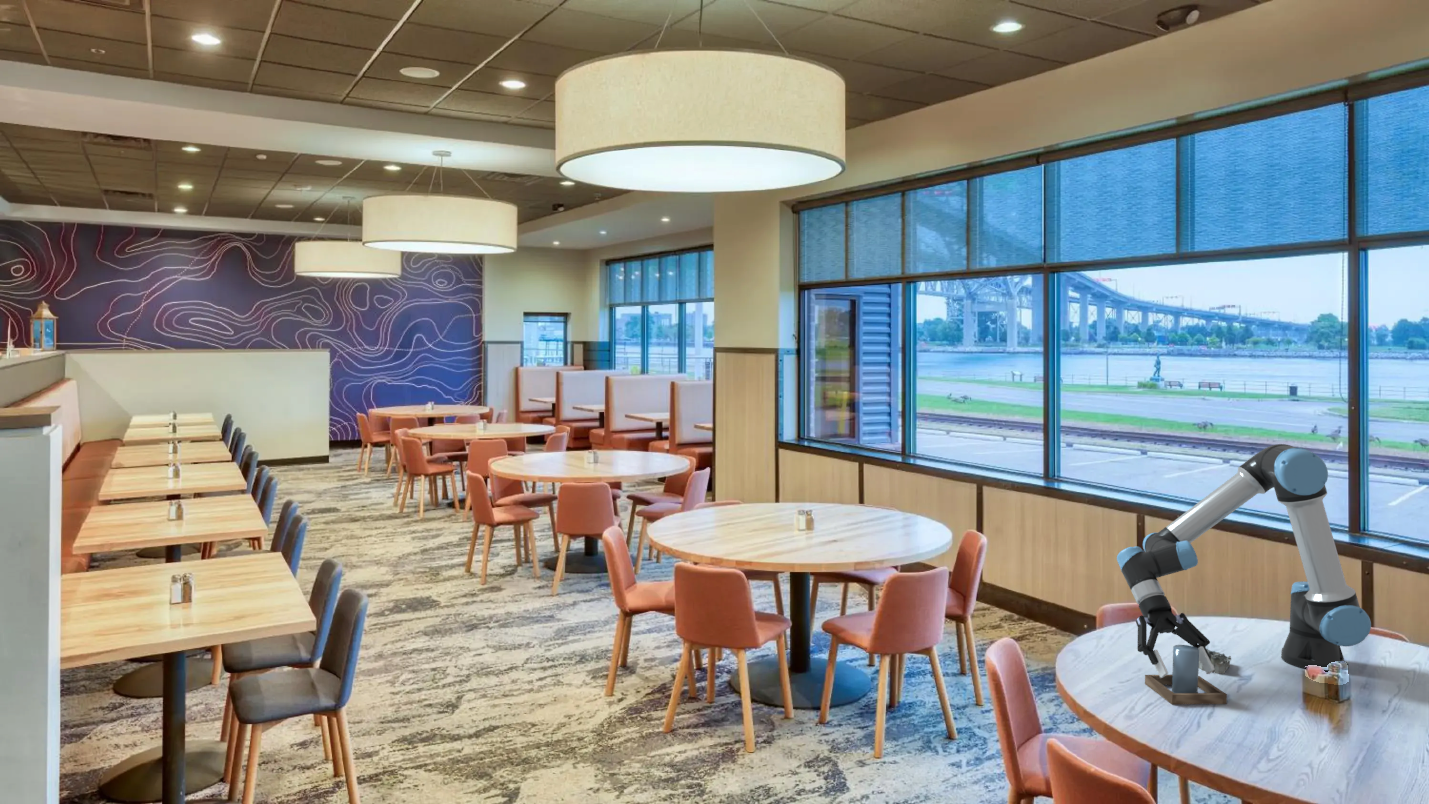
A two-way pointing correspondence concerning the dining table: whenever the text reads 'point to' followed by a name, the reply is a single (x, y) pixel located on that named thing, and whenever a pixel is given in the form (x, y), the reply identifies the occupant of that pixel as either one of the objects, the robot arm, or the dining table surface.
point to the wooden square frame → (1210, 697)
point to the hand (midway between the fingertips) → (1187, 673)
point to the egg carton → (1218, 662)
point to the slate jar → (1185, 669)
